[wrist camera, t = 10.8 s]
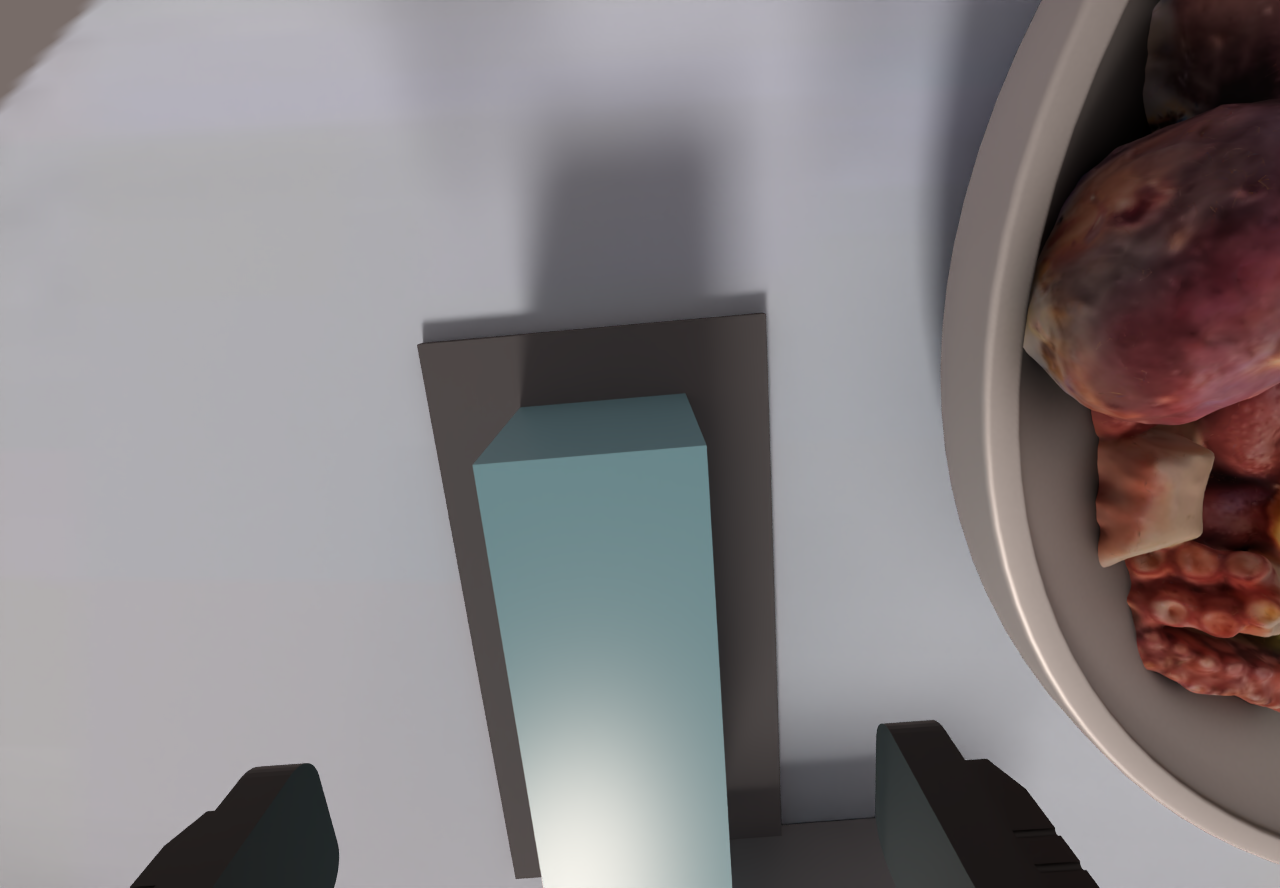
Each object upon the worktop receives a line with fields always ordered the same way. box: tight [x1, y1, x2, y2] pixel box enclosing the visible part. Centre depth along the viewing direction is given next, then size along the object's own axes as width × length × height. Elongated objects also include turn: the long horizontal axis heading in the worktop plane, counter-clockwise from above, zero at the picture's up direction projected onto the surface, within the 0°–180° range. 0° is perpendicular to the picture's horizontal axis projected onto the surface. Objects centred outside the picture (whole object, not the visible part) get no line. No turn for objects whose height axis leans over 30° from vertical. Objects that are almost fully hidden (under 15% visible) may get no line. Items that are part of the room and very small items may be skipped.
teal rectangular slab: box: [473, 393, 732, 888], centre depth 16 cm, size 4×14×5 cm, turn 5°
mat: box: [417, 313, 782, 879], centre depth 18 cm, size 9×18×1 cm, turn 5°
